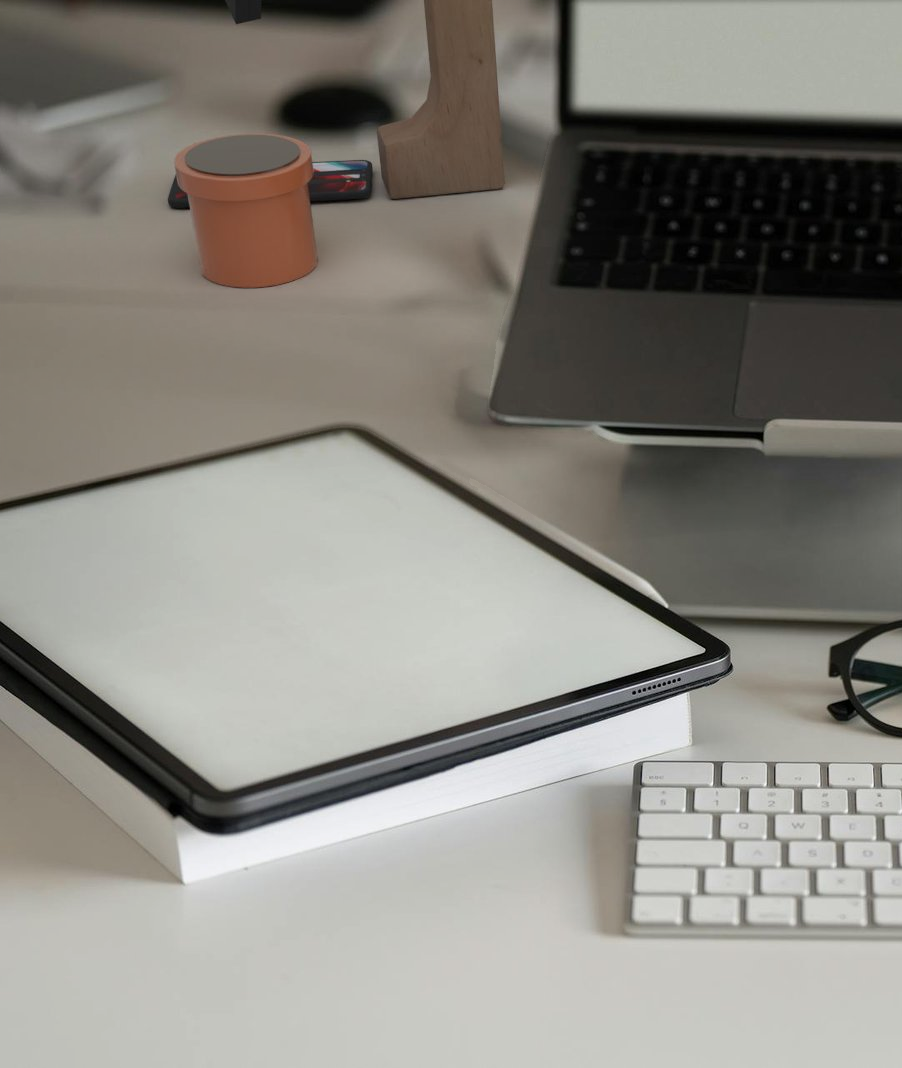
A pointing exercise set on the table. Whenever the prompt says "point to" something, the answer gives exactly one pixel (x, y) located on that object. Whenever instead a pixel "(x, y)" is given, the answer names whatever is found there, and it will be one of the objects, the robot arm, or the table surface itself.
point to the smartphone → (316, 182)
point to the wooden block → (450, 110)
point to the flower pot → (250, 208)
